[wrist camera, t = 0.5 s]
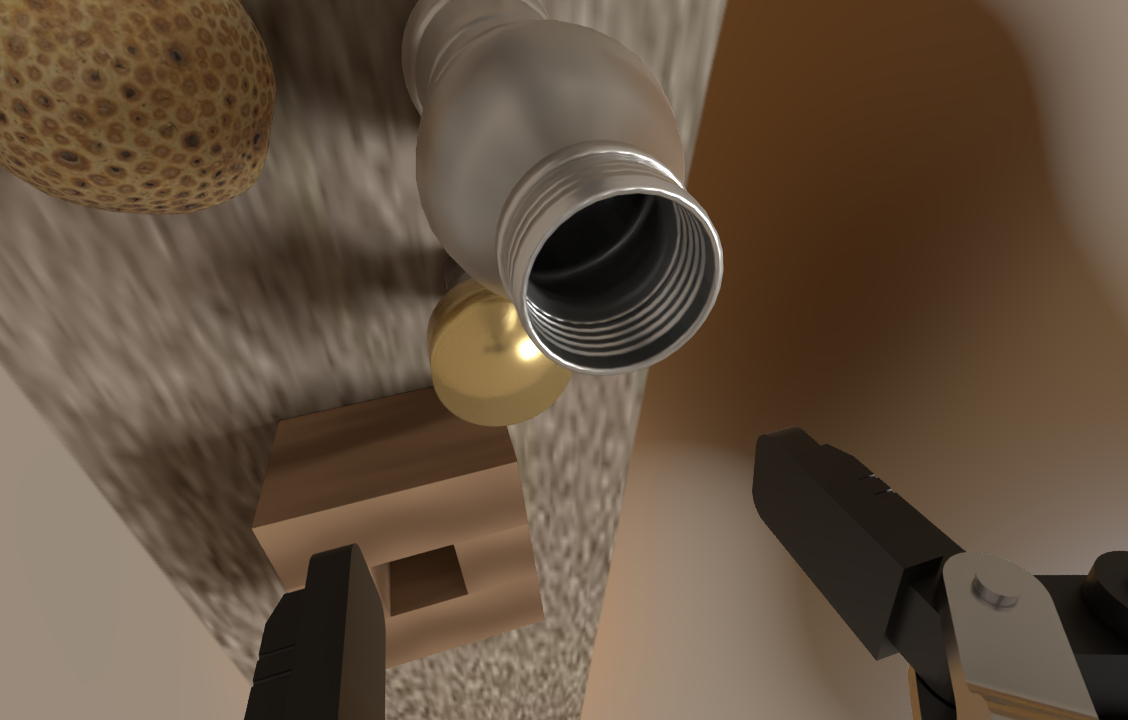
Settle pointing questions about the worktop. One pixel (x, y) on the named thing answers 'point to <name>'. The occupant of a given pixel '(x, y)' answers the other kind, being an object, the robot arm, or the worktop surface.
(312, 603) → the robot arm
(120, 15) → the natural sponge
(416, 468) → the block
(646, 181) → the plastic bottle
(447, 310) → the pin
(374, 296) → the worktop surface
